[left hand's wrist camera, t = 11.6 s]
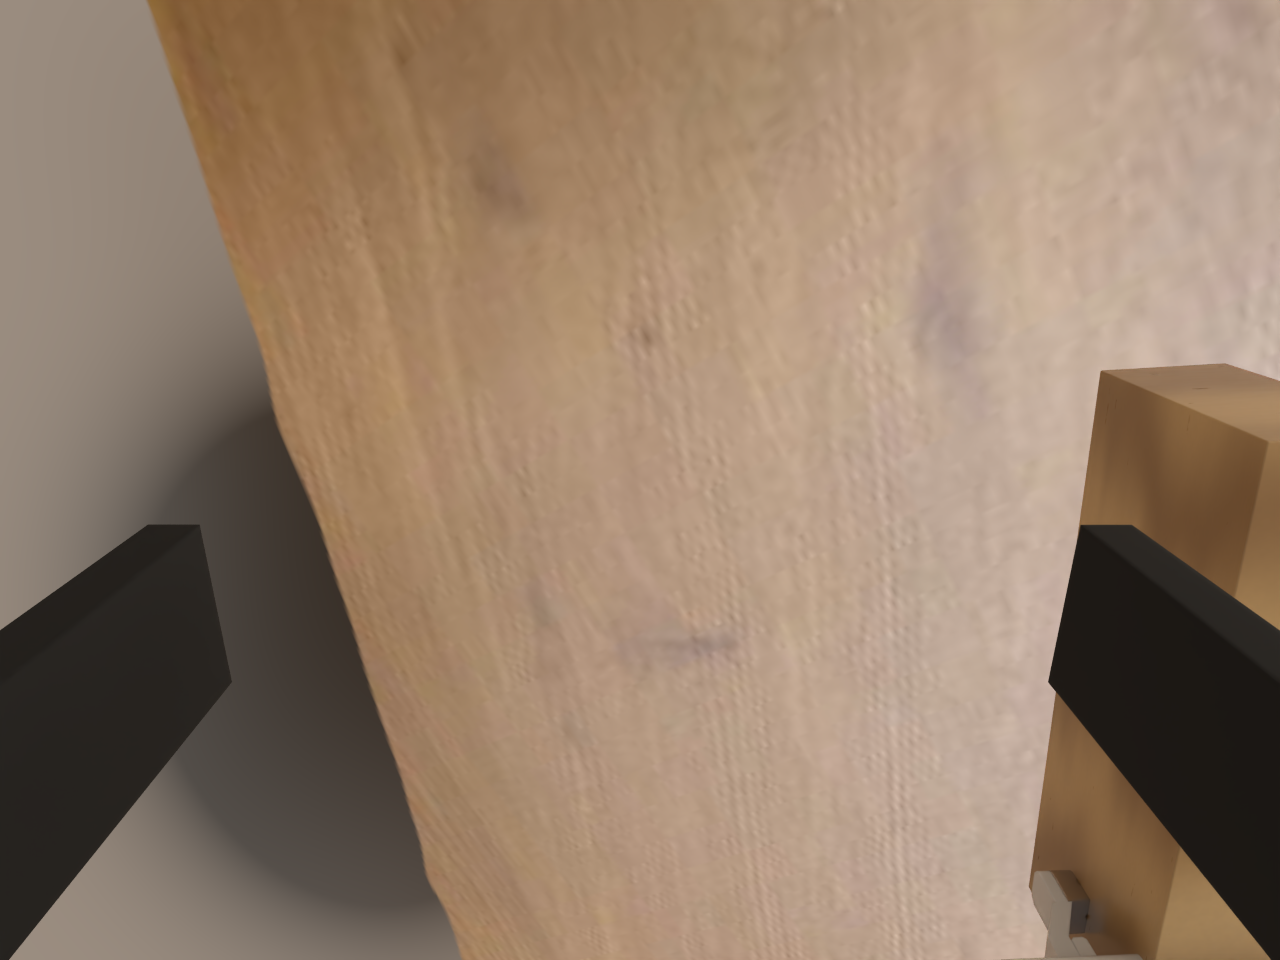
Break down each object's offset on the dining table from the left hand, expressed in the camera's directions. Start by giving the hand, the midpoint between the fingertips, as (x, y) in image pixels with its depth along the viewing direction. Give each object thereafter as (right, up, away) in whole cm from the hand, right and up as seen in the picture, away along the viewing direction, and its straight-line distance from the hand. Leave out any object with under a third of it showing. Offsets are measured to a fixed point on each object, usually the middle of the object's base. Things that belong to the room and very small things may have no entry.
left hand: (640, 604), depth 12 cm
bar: (+19, -5, +21) cm, 29 cm away
